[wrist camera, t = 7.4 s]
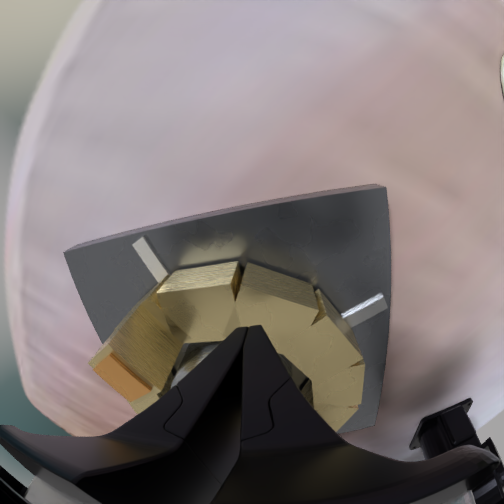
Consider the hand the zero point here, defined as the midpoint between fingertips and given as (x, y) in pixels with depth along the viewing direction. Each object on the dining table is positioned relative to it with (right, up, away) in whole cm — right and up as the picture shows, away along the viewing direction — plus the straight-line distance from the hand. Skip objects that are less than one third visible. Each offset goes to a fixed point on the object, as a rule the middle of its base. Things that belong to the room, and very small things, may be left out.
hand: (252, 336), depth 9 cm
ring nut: (-1, -4, +6) cm, 7 cm away
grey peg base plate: (-1, -4, +8) cm, 9 cm away
